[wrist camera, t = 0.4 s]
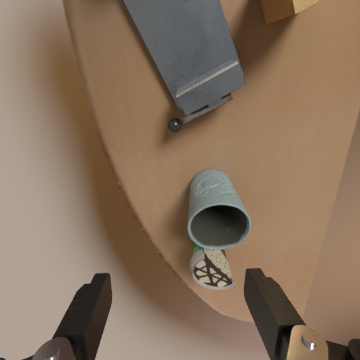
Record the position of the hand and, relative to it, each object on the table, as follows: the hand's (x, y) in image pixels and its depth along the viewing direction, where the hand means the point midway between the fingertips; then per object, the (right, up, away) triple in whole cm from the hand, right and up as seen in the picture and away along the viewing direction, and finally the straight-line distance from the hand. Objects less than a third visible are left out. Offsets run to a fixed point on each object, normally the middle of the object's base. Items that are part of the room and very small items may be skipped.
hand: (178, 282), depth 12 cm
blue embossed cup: (+7, +5, +31) cm, 32 cm away
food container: (+6, -9, +40) cm, 41 cm away
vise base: (-1, +28, +17) cm, 33 cm away
